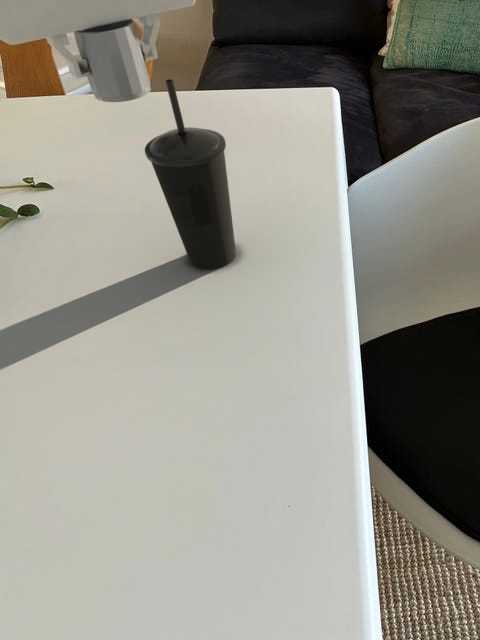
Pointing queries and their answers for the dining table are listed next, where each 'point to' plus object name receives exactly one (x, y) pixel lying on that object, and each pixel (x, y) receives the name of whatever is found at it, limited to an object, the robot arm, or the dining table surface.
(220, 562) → the dining table surface
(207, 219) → the drinking cup
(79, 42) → the grey faceted cup
